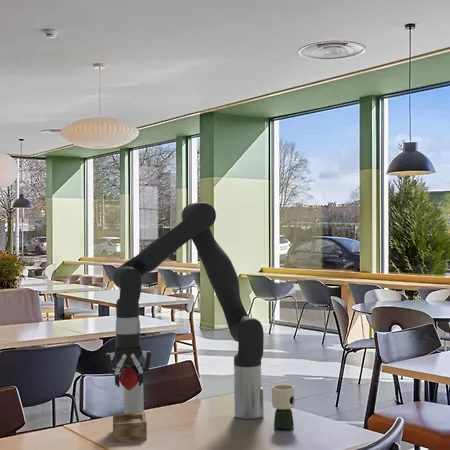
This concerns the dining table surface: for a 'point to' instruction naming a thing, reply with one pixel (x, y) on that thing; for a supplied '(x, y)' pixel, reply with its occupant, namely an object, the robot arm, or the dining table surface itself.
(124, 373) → the onion
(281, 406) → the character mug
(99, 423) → the dining table surface
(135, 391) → the travel mug
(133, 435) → the base
